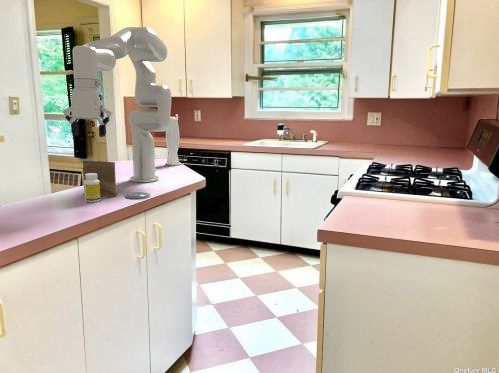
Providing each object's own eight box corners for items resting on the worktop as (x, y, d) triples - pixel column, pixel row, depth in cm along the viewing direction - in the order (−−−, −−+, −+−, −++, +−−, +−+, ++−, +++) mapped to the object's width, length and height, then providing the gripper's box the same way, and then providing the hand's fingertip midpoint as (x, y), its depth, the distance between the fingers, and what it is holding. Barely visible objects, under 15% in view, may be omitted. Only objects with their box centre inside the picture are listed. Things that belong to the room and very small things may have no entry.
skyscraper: (183, 165, 228) (183, 114, 222) (172, 166, 222) (171, 114, 216) (174, 163, 234) (174, 113, 228) (163, 164, 228) (162, 113, 222)
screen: (88, 193, 157) (86, 160, 154) (117, 195, 156) (116, 161, 153) (82, 195, 153) (80, 161, 151) (113, 197, 152) (111, 163, 149)
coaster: (131, 193, 160) (131, 191, 160) (153, 194, 159) (153, 192, 159) (121, 198, 151) (121, 196, 151) (145, 199, 150) (145, 198, 150)
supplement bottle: (103, 200, 147) (102, 174, 145) (89, 203, 143) (87, 176, 141) (95, 198, 150) (94, 172, 148) (81, 200, 146) (80, 173, 144)
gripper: (115, 86, 140) (117, 136, 143) (68, 84, 142) (70, 134, 145) (106, 85, 133) (108, 137, 136) (55, 83, 134) (59, 135, 138)
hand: (88, 136), depth 141 cm, fingers open, 9 cm apart
